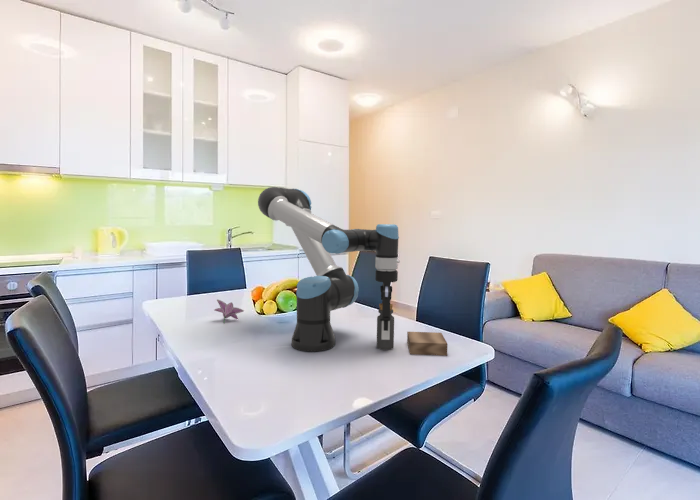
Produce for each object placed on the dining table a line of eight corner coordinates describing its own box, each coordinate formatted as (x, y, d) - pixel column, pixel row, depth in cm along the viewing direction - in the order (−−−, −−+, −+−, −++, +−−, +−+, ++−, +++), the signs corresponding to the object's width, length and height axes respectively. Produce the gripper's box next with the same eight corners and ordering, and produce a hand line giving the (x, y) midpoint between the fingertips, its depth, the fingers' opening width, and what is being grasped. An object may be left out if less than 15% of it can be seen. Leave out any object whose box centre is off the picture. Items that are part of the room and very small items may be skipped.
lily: (246, 325, 157) (248, 303, 161) (223, 319, 149) (226, 296, 153) (228, 329, 164) (230, 308, 168) (204, 324, 155) (208, 302, 159)
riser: (409, 354, 122) (410, 342, 122) (407, 342, 134) (407, 331, 134) (447, 355, 121) (447, 343, 121) (441, 343, 133) (441, 332, 133)
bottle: (392, 350, 125) (393, 306, 124) (375, 349, 126) (376, 305, 125) (394, 345, 131) (395, 303, 130) (377, 343, 132) (378, 302, 131)
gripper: (399, 273, 117) (397, 345, 119) (396, 266, 136) (395, 328, 138) (375, 273, 118) (374, 344, 119) (375, 266, 136) (374, 328, 138)
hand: (385, 336), depth 128 cm, fingers closed on bottle, 6 cm apart
